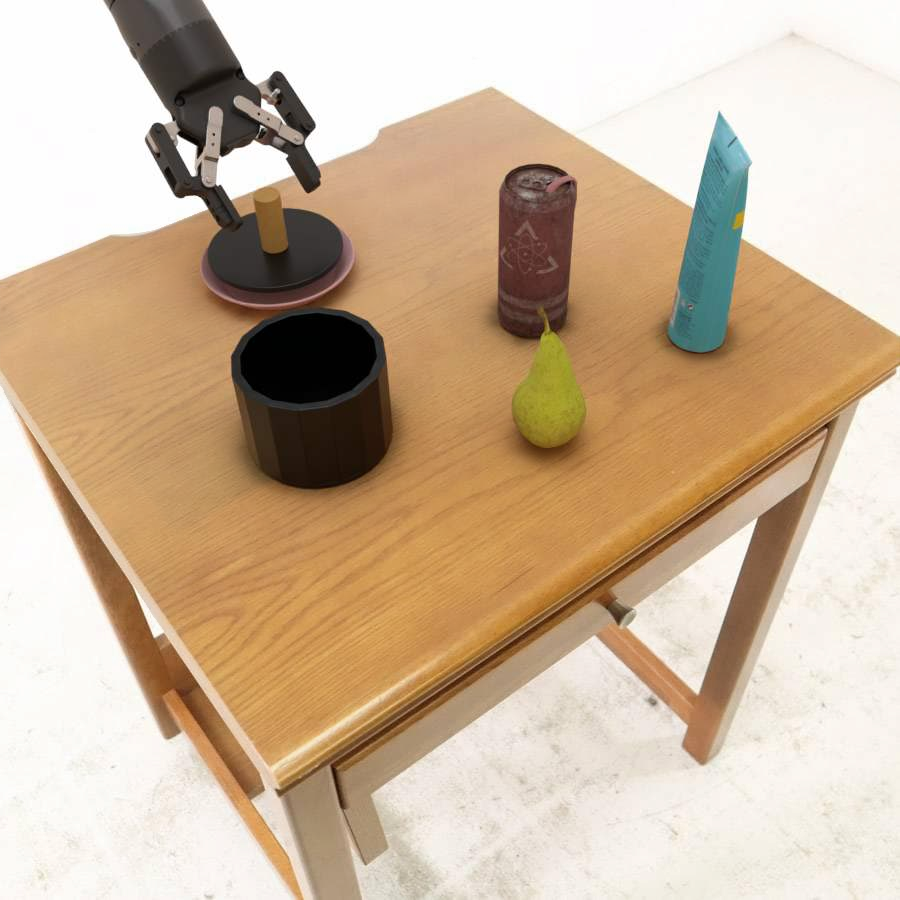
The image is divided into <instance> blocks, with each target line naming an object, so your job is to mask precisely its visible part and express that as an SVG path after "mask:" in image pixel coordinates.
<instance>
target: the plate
mask: <svg viewBox="0 0 900 900" xmlns="http://www.w3.org/2000/svg"><path fill="white" fill-rule="evenodd" d="M335 225H336V226H337V228H338V229H339V231H340V232H341V235H342V238H343V253H342V256H341V258H340V260H339V262H338V263H337V265H336V266H335V267H334V268H333V269H332V270H331V271H330V272H329V273H328V274H327V275H325V276H324V277H322V278H321V279H319V280H317V281H315V282H314V283H311V284H309V285H307V286H304V287H301V288H298V289H294V290H290V291H284V292H276V293H257V292H249V291H244V290H240V289H236V288H234V287H231V286H229V285H227V284H226V283H224V282H222V281H221V280H220V279H218V278H217V277H216V276H215V274H214V273H213V272H212V270H211V268H210V266H209V262H208V256H207V252H208V247H209V244H208V245H207V247H205V250H203V253H202V255H201V259H200V263H199V271H200V275H201V279H202V281H203V282H204V284H205V285H206V287H207V288H208V289H209V290H210V291H211V292H212V293H214V294H215V295H217V296H218V297H219V298H221V299H223V300H225V301H228V302H230V303H234V304H236V305H240V306H243V307H246V308H251V309H254V310H258V311H259V310H260V311H283V310H292V309H295V308H299V307H301V306H302V307H303V306H305V305H307V304H310V303H313V302H314V301H316V300H319V299H320V298H321V297H322V296H324V295H326V294H327V293H328V292H330V291H332V290H333V289H334V288H336V287H337V286H338V285H339V284H340V283H342V282H343V281H344V280H345V278H347V276H348V275H349V274H350V272H351V271H352V268H353V266H354V263H355V260H356V259H355V258H356V249H355V245H354V243H353V240H352V239H351V237H350V236H349V234H347V232H346V231H345V230H344V229H342V228H341V227H340V226H338V225H337V224H335Z"/></svg>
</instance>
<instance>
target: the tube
mask: <svg viewBox="0 0 900 900" xmlns="http://www.w3.org/2000/svg"><path fill="white" fill-rule="evenodd" d="M752 164H753V160H752V159H751V157H750V155H749V154H748V151H747V150H746V149H745V147H744V145H743V143H742V142H741V140H740V139H739V137H738V135H737V134H736V132H735V131H734V130H733V127H732V126H731V124H730V123H729V122H728V120H727V119H726V118H725V116H724V115H723V113H722V112H721V110H718V113H717V116H716V119H715V123H714V126H713V130H712V133H711V137H710V141H709V144H708V148H707V152H706V156H705V161H704V164H703V168H702V172H701V176H700V181H699V185H698V190H697V194H696V199H695V203H694V207H693V210H692V211H693V212H692V216H691V221H690V225H689V230H688V234H687V239H686V243H685V247H684V251H683V257H682V262H681V266H680V270H679V275H678V280H677V284H676V288H675V294H674V298H673V302H672V307H671V313H670V318H669V321H668V327H667V334H668V338H669V339H670V341H671V342H672V343H673V344H674V345H675V346H677V347H678V348H680V349H682V350H684V351H687V352H694V353H708V352H712V351H714V350H717V349H718V348H719V347H721V345H723V343H724V341H725V337H726V333H727V327H728V321H729V316H730V309H731V308H730V307H731V303H732V297H733V292H734V285H735V279H736V273H737V268H738V267H737V266H738V261H739V255H740V248H741V243H742V242H741V241H742V235H743V230H744V229H743V228H744V223H745V222H744V221H745V215H746V214H745V213H746V208H747V207H746V205H747V197H748V188H749V187H748V186H749V170H750V167H751V166H752Z"/></svg>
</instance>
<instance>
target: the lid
mask: <svg viewBox="0 0 900 900" xmlns="http://www.w3.org/2000/svg"><path fill="white" fill-rule="evenodd" d="M252 200H253V206H254V212H251V213H247V214H245V215H242V216H240V217H241V218H242V220H243V225H242V226H241V227H240V228H239V229H238V230H236V231H234V232H232V233H230V232H229V231H228V230H227V228H224V229H222V228H220V229H219V230H218V231H217V232H216V233H215V234H214V236H213V237H212V239H211V240H210V242H209V244H208V245H209V247H208V246H207V247H208V252H207V256H208V262H209V266H210V268H211V270H212V272H213V273H214V274H215V276H216V277H217V278H218V279H220V280H221V281H222V282H224V283H226V284H227V285H229V286H231V287H234V288H236V289H240V290H244V291H249V292H257V293H276V292H284V291H290V290H294V289H298V288H301V287H304V286H307V285H309V284H311V283H314V282H315V281H317V280H319V279H321V278H322V277H324V276H325V275H327V274H328V273H329V272H330V271H331V270H332V269H333V268H334V267H335V266H336V265H337V263H338V262H339V260H340V258H341V256H342V253H343V238H342V235H341V232H340V231H339V229H338V228H337V226H338V225H337V224H335V223H334V222H333V221H332V220H330V219H329V218H328V217H326V216H324V215H322V214H321V213H317V212H314V211H311V210H307V209H301V208H293V207H283V202H282V197H281V192H280V190H278V188H275V187H272V186H264V187H261V188H258V189H256V190H255V191H254V192H253V193H252ZM336 225H337V226H336Z"/></svg>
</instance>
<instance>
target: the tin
mask: <svg viewBox="0 0 900 900" xmlns="http://www.w3.org/2000/svg"><path fill="white" fill-rule="evenodd" d="M230 371H231V372H230V373H231V380H232V384H233V388H234V394H235V397H236V402H237V405H238V410H239V413H240V419H241V423H242V427H243V431H244V435H245V436H244V437H245V440H246V444H247V449H248V452H249V454H250V455H251V458H252V460H253V462H254V463H255V465H256V466H257V467H258V469H259V470H261V472H262V473H264V475H266V477H269V478H270V479H272V480H274V481H275V482H277V483H280V484H282V485H285V486H289V487H291V488H297V489H304V490H320V489H330V488H335V487H339V486H340V487H341V486H343V485H346V484H349V483H351V482H354V481H356V480H358V479H360V478H362V477H363V476H365V475H366V474H368V473H369V472H371V471H372V470H373V469H374V468H375V467H377V466H378V464H380V462H381V461H382V460H383V459H384V457H385V456H386V455H387V453H388V450H390V446H391V443H392V439H393V434H394V433H393V432H394V428H393V427H394V425H393V417H392V407H391V406H392V404H391V393H390V392H391V391H390V383H389V371H388V359H387V353H386V347H385V341H384V338H383V336H382V335H381V333H380V332H379V331H378V330H377V329H376V328H375V327H374V326H373V324H372V323H371V322H370V321H368V320H367V319H365V318H362V317H361V316H358V315H356V314H354V313H352V312H349V311H347V310H344V309H337V308H329V307H321V306H313V307H305V308H296V309H287V310H286V311H282V312H280V313H278V314H275V315H272V316H270V317H267V318H264V319H263V320H261V321H259V322H258V323H257V324H255V326H253V327H252V328H250V329H249V330H248V331H247V332H245V333H243V335H242V336H241V337H240V339H239V341H238V342H237V345H236V346H235V348H234V349H233V351H232V353H231V355H230Z"/></svg>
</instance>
